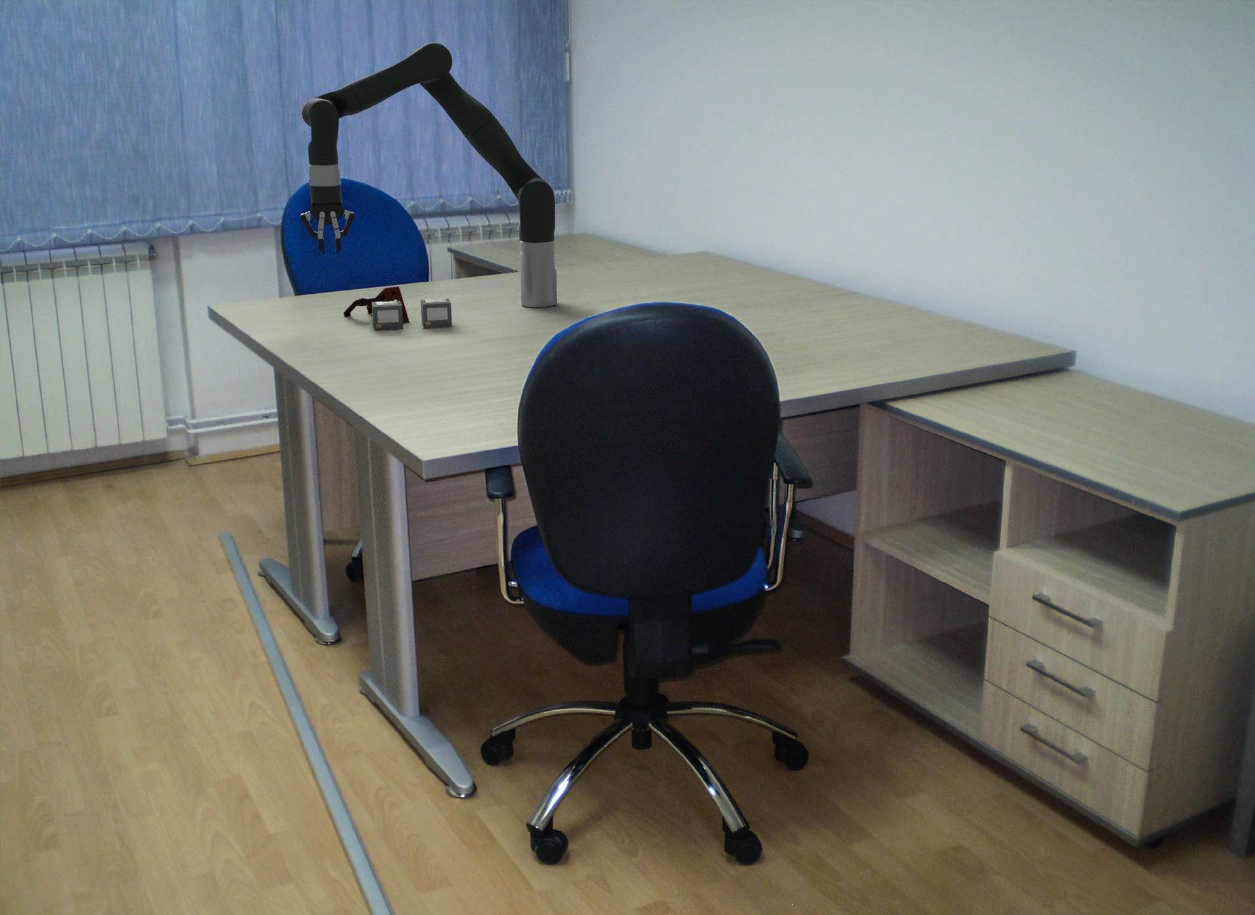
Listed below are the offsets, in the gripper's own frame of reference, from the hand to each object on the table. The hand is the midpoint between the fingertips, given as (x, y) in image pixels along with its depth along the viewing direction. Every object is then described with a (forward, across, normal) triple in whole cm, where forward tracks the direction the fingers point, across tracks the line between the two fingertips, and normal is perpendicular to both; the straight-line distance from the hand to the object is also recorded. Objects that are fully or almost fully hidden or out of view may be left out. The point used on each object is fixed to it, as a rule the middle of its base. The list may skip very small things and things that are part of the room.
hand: (330, 253), depth 318 cm
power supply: (+17, -12, +12) cm, 24 cm away
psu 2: (+17, -24, +12) cm, 32 cm away
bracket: (+18, -10, +2) cm, 20 cm away
